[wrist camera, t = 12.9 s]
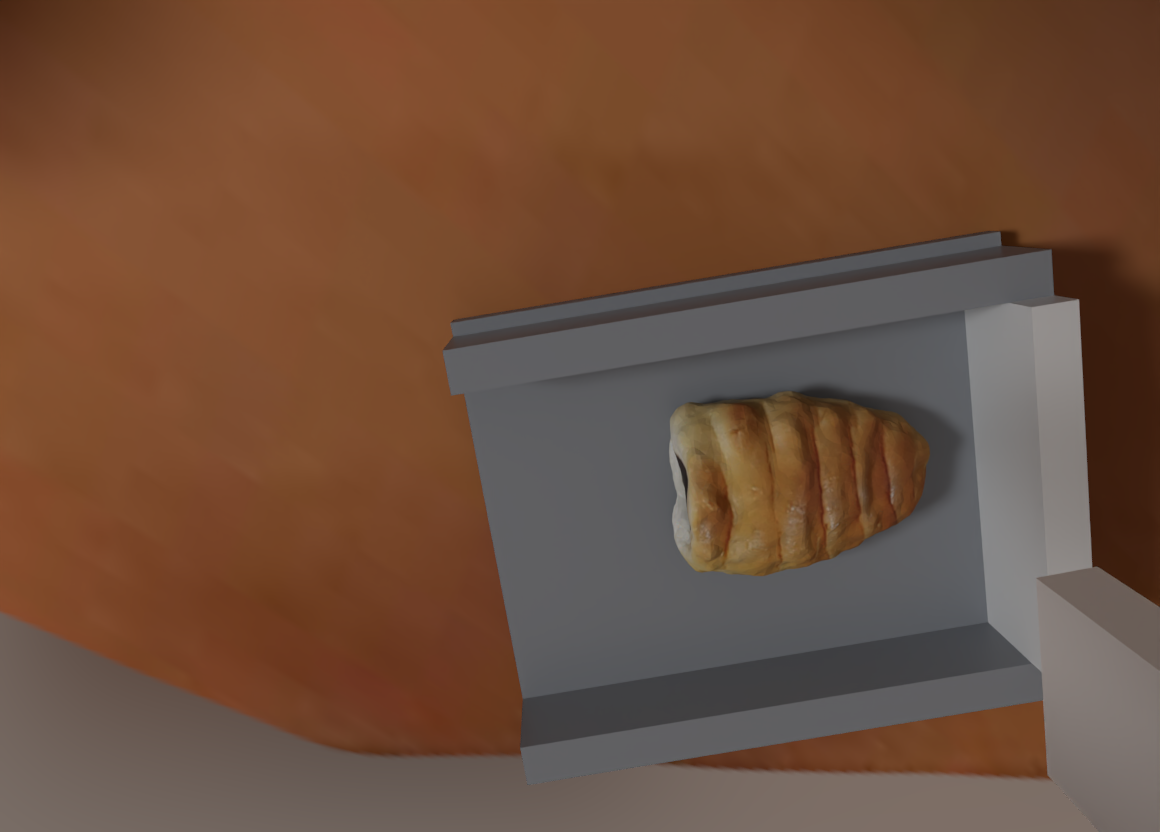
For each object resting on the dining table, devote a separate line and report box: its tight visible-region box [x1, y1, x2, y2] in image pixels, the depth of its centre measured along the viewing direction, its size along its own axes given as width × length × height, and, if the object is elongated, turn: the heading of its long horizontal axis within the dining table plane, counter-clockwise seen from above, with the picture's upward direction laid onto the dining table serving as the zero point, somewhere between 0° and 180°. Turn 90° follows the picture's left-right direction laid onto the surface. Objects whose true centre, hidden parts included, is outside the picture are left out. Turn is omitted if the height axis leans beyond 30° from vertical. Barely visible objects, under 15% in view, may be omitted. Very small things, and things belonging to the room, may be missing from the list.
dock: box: [443, 231, 1092, 785], centre depth 34 cm, size 20×17×6 cm
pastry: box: [669, 391, 930, 576], centre depth 34 cm, size 9×7×4 cm
